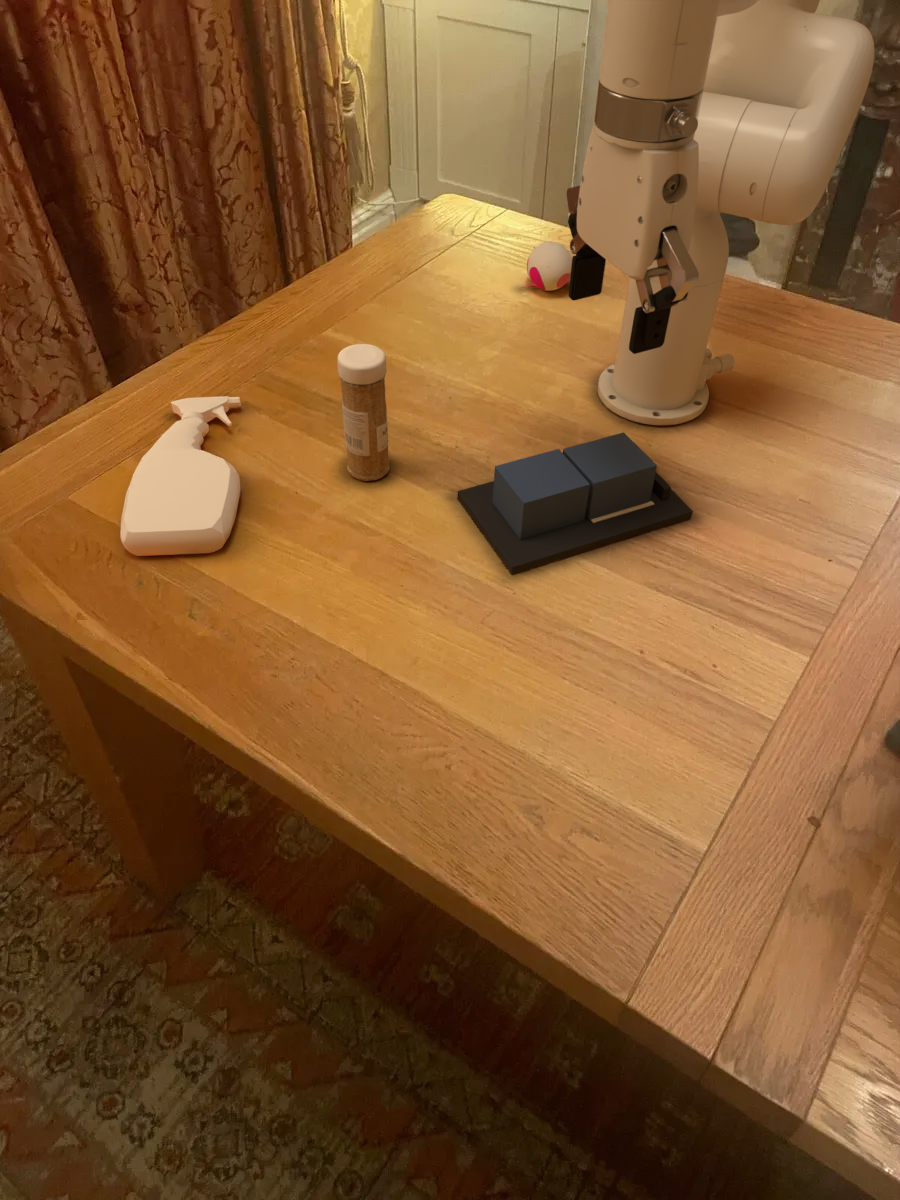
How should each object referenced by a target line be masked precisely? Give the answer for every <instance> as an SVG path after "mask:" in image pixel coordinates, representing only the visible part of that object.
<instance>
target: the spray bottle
mask: <svg viewBox="0 0 900 1200" xmlns="http://www.w3.org/2000/svg"><path fill="white" fill-rule="evenodd" d="M170 404H171V410H172V413H174V414H176V415H178V416H179V417H180V420H176V421H175V422H173V424H172V425H170V427H169V428H168V429H167V430H166V431H165V432H164V433H163V434H162V435H161V436H160V437H159V438H158V439H157V440H156V442H155V443H154V444H153V445H152V446H151V447H150V449H148V451H147V452H146V453H145V454H144V455H143V456H142V457H141V459H140V461H139V463H138V464H137V466H136V468H135V470H134V472H133V474H132V477H131V479H130V482H129V486H128V488H127V490H126V493H125V497H124V502H123V508H122V513H121V517H120V531H119V532H120V534H119V535H120V536H119V537H120V538H119V539H120V541H121V543H122V545H123V548H125V549H126V551H128V552H129V553H130V554H132V555H134V556H136V557H148V556H149V557H150V556H153V557H154V556H174V555H175V556H177V555H198V554H199V555H201V554H212V553H215V552H217V551H220V550H221V549H222V548H223V547H224V545H225V543H226V542H227V540H228V539H229V537H230V535H231V532H232V529H233V527H234V523H235V520H236V517H237V512H238V508H239V507H238V506H239V501H240V497H241V492H242V490H241V477H240V474H239V472H238V471H237V470H236V468H235V467H234V466H233V465H232V464H231V463H230V462H228V461H227V460H225V459H224V458H222V457H221V456H217V455H215V454H213V453H210V452H207V451H205V450H202V447H201V446H202V444H203V443H204V437H206V435H207V434H208V433H209V432H210V425H209V424H208V423H209V422H210V421H212V420H214V419H216V418H218V419H219V420H220V421H222V423H224V424H225V425H226V426H228V427H232V426H233V423H232V421H231V420H230V419H229V417H228V415H227V414H226V413H228V412H229V410H230V408H236V407H242V402H241V397H240V396H229V395H225V396H199V397H198V396H197V397H186V398H179V399H177V400H173V401H170Z"/></svg>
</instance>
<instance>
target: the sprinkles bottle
mask: <svg viewBox="0 0 900 1200" xmlns="http://www.w3.org/2000/svg"><path fill="white" fill-rule="evenodd" d="M336 360H337V362H336V363H337V374H338V376H339V380H340V387H341V406H342V420H343V431H344V444H345V446H346V456H347V464H346V471H347V472H348V474H349V475H350V476H351V477H353V478H354V479H356V480H360V481H363V482H370V481H371V482H372V481H377V480H379V479H382V478H383V477H385V476H386V475H387V474H388V473H389V472H390V468H391V462H390V458H389V457H390V455H389V430H388V412H387V410H388V409H387V399H386V384H385V383H386V380H385V379H386V374H387V358H386V354H385V351H384V350H383V349H382V348H380V347H379V346H377V345H374V344H369V343H355V344H351V345H348V346H346V347H344V348H343V349H341V350H340V351H339V353H338V354H337V359H336Z"/></svg>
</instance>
